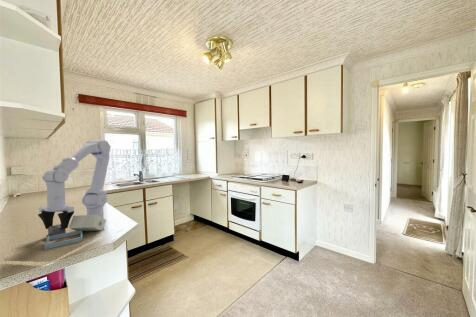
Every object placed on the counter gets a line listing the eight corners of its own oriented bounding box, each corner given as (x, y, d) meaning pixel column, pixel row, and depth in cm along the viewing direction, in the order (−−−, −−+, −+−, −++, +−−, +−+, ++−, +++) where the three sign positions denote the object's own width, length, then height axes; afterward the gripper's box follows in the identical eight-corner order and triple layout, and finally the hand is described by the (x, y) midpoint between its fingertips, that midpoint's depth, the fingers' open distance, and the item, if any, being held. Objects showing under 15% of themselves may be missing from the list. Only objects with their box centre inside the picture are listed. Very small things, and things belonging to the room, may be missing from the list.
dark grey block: (41, 239, 81) (41, 229, 81) (58, 233, 88) (57, 224, 88) (53, 239, 81) (53, 229, 81) (68, 233, 87) (68, 224, 87)
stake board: (47, 236, 87) (47, 222, 87) (76, 230, 93) (76, 217, 93) (45, 242, 80) (44, 228, 80) (76, 236, 86) (76, 222, 86)
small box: (97, 214, 88) (73, 215, 87) (93, 227, 85) (67, 228, 84) (106, 219, 95) (83, 220, 94) (103, 231, 92) (79, 232, 91)
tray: (48, 242, 80) (48, 236, 80) (82, 235, 87) (82, 229, 87) (44, 252, 72) (44, 245, 72) (82, 243, 79) (82, 237, 79)
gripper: (30, 199, 82) (31, 231, 82) (62, 198, 80) (62, 232, 80) (48, 195, 89) (49, 225, 89) (77, 195, 87) (78, 226, 87)
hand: (56, 228), depth 85 cm, fingers open, 7 cm apart
